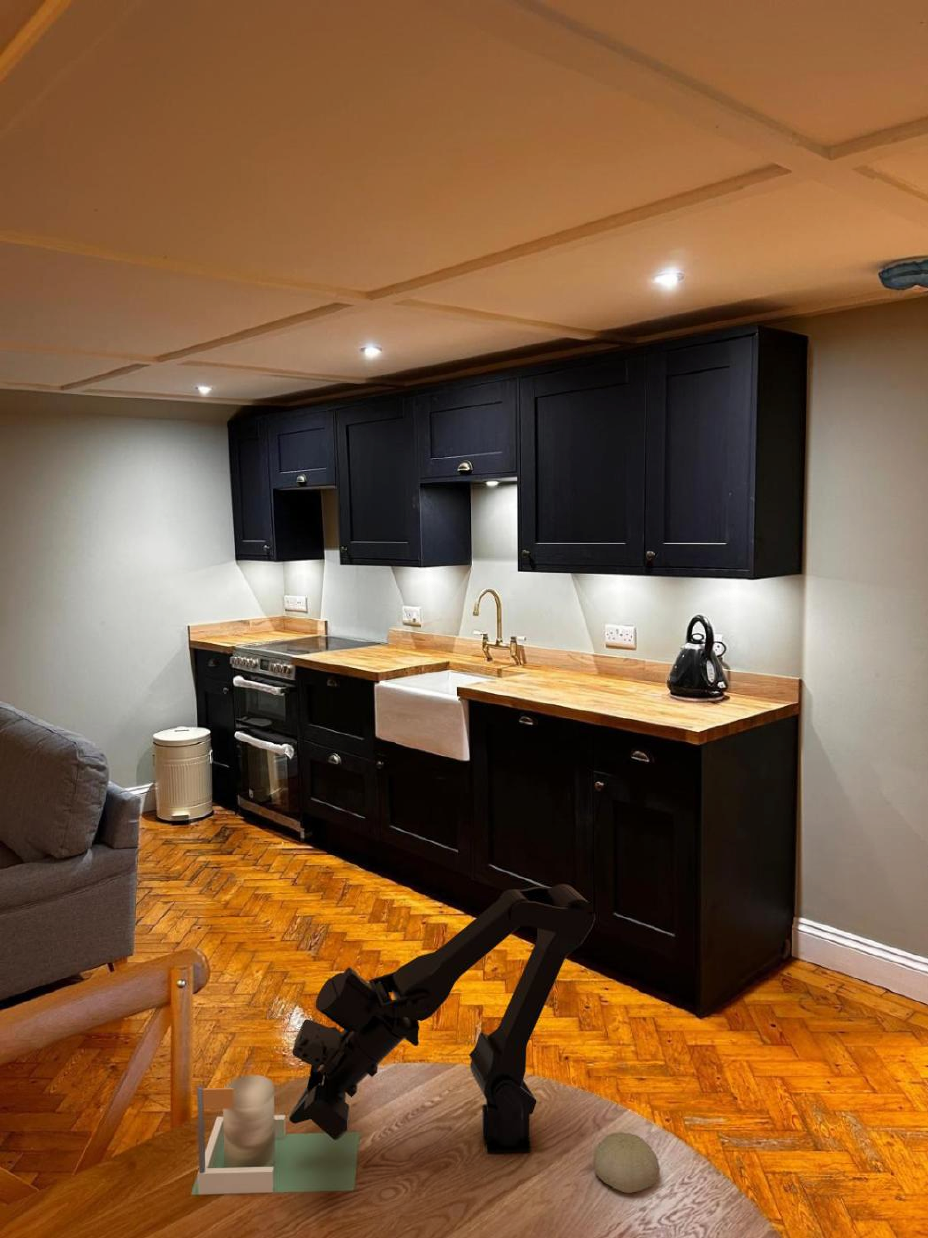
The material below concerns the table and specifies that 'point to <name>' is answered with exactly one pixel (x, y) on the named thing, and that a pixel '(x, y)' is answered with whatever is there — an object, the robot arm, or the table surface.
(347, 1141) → the putting mat
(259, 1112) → the birch cylinder
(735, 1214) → the table surface
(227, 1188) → the white frame
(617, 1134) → the sea urchin shell
